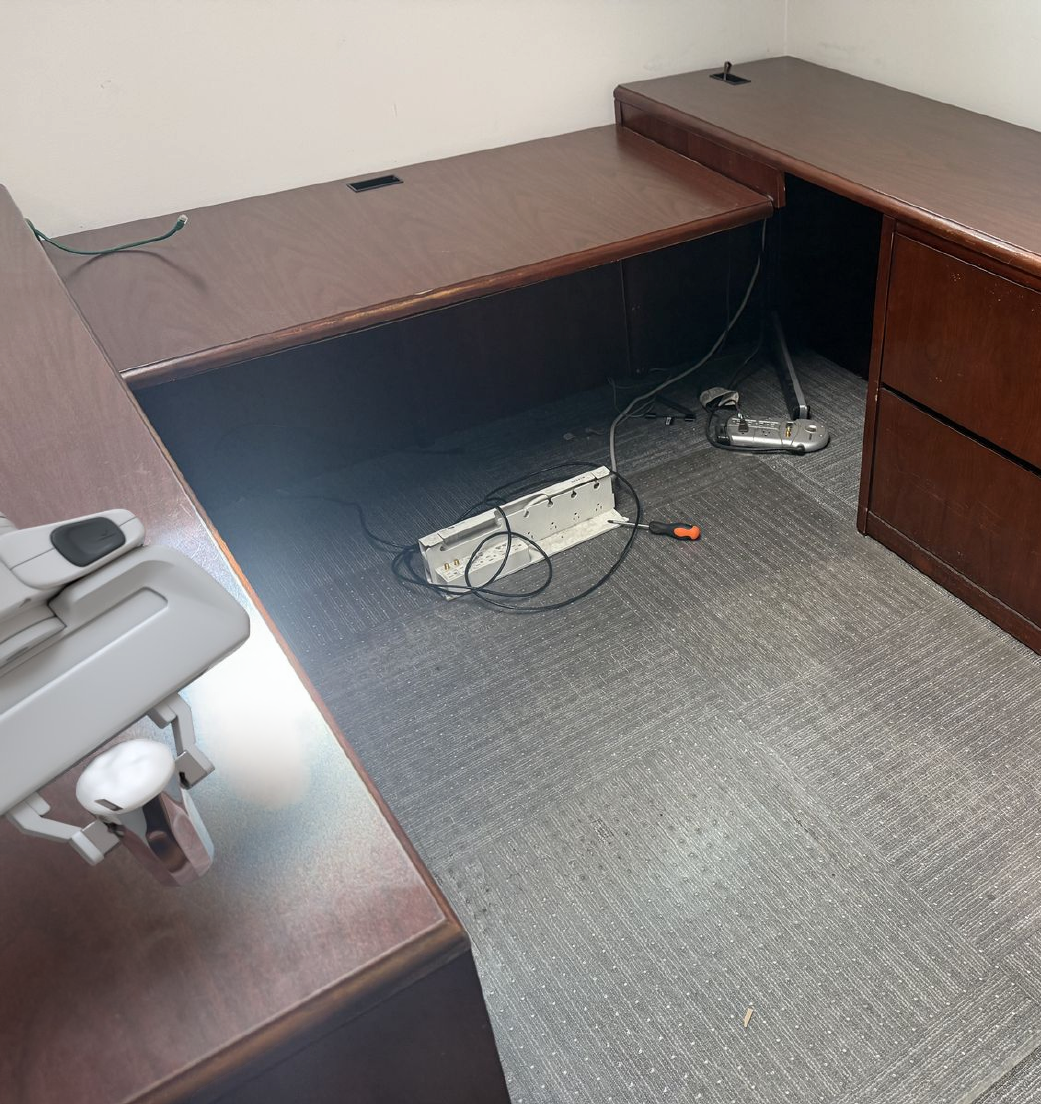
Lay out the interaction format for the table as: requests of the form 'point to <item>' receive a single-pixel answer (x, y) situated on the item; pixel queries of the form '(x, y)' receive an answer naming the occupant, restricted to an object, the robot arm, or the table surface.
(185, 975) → the table surface
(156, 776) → the milkshake
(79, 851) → the robot arm
